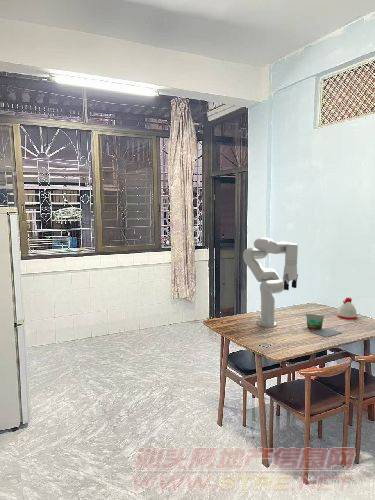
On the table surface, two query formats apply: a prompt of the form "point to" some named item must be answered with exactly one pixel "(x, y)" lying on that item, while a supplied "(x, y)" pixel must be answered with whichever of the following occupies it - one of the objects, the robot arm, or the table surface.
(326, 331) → the mat
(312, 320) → the food container
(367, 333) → the table surface
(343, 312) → the white bobble hat
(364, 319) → the table surface
